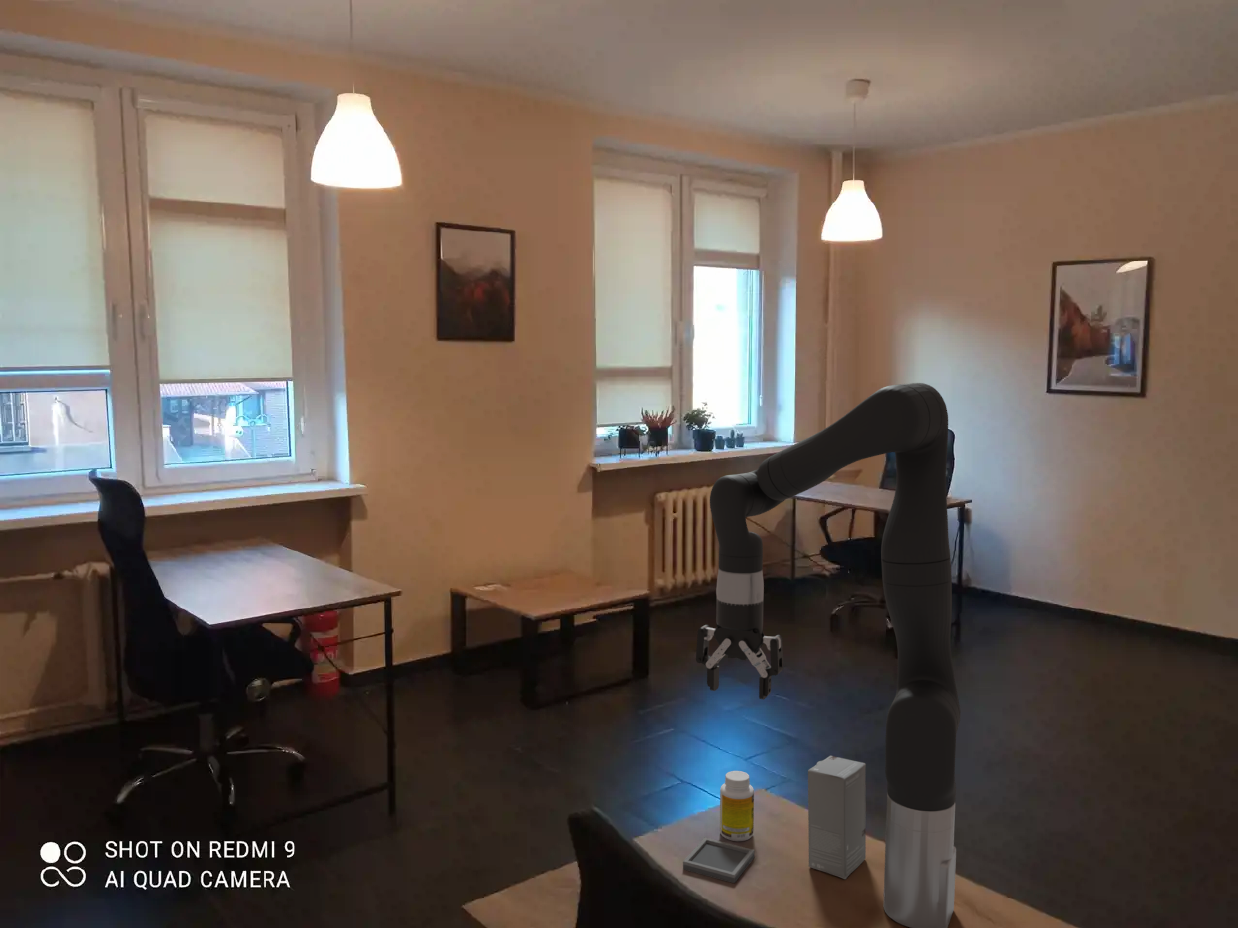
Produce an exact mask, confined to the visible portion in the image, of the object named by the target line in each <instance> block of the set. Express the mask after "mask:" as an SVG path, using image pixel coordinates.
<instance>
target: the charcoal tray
mask: <svg viewBox="0 0 1238 928" xmlns="http://www.w3.org/2000/svg"><path fill="white" fill-rule="evenodd" d="M754 859H755V849H751V848H747V847H744V846H741V845H736V844H733V843H729V842H724V841H720V840H716V839H713V838H709V837H704V838H703V839H702V840H701V841H700V842H699V843H698V844H697V845H696V847H695V848H694V849H693V850H692V851H691V852H690V853H689V854H688V855H687V856H686V857H685V858H684V859H683V861H682V870H683V871H689V872H692V873H695V874H699V875H703V876H706V877H709V878H714V879H717V880H720V881H721V880H722V881H724V882H728V883H732V884H735V883H737V881H738V879H739V878H740V877H741V875H742V874H743V873H744V872H745V870H746V869H747V868H748V867H749V865H750V864H751V863H752V861H754Z"/></svg>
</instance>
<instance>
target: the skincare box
mask: <svg viewBox="0 0 1238 928" xmlns="http://www.w3.org/2000/svg"><path fill="white" fill-rule="evenodd" d="M866 766H867V764H866V763H865V762H862V761H856V760H851V759H848V758H843V757H839V756H838V757H837V756H834V755H829V756H828V757H826V758H825V759H823V760H819V761H817V762H816V764H815V765H814V766H812V767H811V768H809V769H808V770H807V804H808V805H807V807H808V808H807V810H808V811H807V814H808V815H807V817H808V818H807V819H808V821H807V822H808V825H807V826H808V827H807V828H808V833H807V834H808V867H809V868H811V869H814V870H817V871H820V872H824V873H826V874H830V875H833V876H836V877H838V878H841V879H843V880H847V878H848V877H849V876H851V873H853V872H854V871H855V870H857V868H858V867H859V866H860V865H861V864H862V863H864V861H865V860H866V856H867V855H866V849H867V847H866V844H867V842H866V841H867V839H866V838H867V837H866V830H867V829H866V818H867V817H866V813H867V811H866Z"/></svg>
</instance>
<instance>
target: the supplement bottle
mask: <svg viewBox="0 0 1238 928" xmlns="http://www.w3.org/2000/svg"><path fill="white" fill-rule="evenodd" d="M724 779H725V780H724V783H723V784H722V785H721V786H720V791H719V832H720V834H721V836H722V837H723V838H725V839H726V840H728V841H733V842H744V841H748V840H749V839H751V838H752V837H753V835H754V824H755V823H754V817H755V789H754V787H753V786H752V785H751V781H750V775H749V774H748V773H747V772H746V771H745V772H744V771H741V770H732V771H728V772H727V773H725V778H724Z"/></svg>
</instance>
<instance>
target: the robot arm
mask: <svg viewBox="0 0 1238 928" xmlns="http://www.w3.org/2000/svg"><path fill="white" fill-rule="evenodd" d="M948 440H949V413H948V409H947V404H946V402H945V400H944V398H943V396H942V395H941V393H940V392H939V390H937V389H936V388H935V387H933V386H931V385H930V384H927V383H924V382H911V383H910V382H909V383H902V384H893V385H892V384H891V385H887V386H884V387H881V388H879V389H878V390H876V391H875V392H874V393H872V394H870V395H869V396H867V398H865V399H864V400H863V401H861V402H860V403H858V404H857V405H856V406H855V407H854V408H852V409H851V410H849V412H847V413H846V414H845V415H843V416H842V417H840V418H839V419H838V420H836V421H835V422H833V423H832V424H830V425H828V426H827V427H825V428H824V429H822V430H820V431H819V432H817V433H815V434H812V435H810V436H809V437H806V438H804V439H803V440H801V441H798V442H797V443H794V444H792V445H790V446H789V447H786V448H784V449H782V450H781V451H778V452H776V453H775V454H772V455H771V456H769V457H767V458H766V459H764V460H763V461H762V462H761V463H760V465H759V466H758V469H755V470H752V471H750V472H745V473H744V472H743V473H737V474H728V475H724V476H721V477H719V478H718V479H717V480H716V481H715V482H714V483H713V485H712V487H711V490H710V495H709V508H710V513H711V518H712V521H713V525H714V530H715V533H716V534H715V535H716V537H717V541H718V571H717V572H718V573H717V578H716V579H717V580H716V590H715V594H716V610H715V611H716V612H715V613H716V615H715V616H716V618H715V620H716V622H715V623H716V627H715V628H713V627H710V625H709V624H705V625H703V626H701V627H700V628H698V629H697V635H696V636H697V637H696V649H695V650H696V652H695V653H696V654H695V662H696V663H697V664H702V665H704V666H705V668H706V684H707V687H709V690H710V691H712V692H715V691H717V690H718V689H719V685H720V665H718V664H719V662H720V661H721V660H722V659H723V658H724V657H725V656H726V657H727V658H729V659H739V660H741V661H747V660H749V662H750V663H751V665H752V666H753V667H755V670H757V672H758V673H759V675H760V676H759V678H758V679H759V681H758V682H759V685H758V687H759V689H758V698H759V700H765V699H766V698H768V696H769V695H770V694H771V692H772V676H777V675H779V674H780V673H781V672H783V670H784V653H783V652H784V650H783V649H784V648H783V646H784V645H783V637H782V635H780V634H777V635H775V636H767V635H765V633H764V631H763V628H764V597H765V596H764V594H765V593H764V592H765V589H764V587H765V585H764V584H765V583H764V582H765V581H764V574H763V572H764V571H763V568H764V567H763V563H764V562H763V558H764V554H763V553H764V551H763V547H764V545H763V538H762V537H761V535H759V533H756V532H753V531H749V529H748V528H749V527H748V525H747V524H748V523H747V518H749V517H756V516H759V515H762V514H765V513H767V512H770V511H772V510H773V509H774V508H776V507H777V506H779V505H781V504H782V503H784V501H786V500H787V499H790V498H793V497H795V496H797V495H799V494H802V493H803V492H806V491H808V490H810V489H812V488H814V487H816V486H818V485H820V484H821V483H823V482H825V481H827V480H828V479H829V478H830V477H832V476H833V475H834V474H836V473H837V472H838V471H839V470H842V469H843V468H845V467H847V466H849V465H852V464H853V463H856V462H859V461H861V460H865V459H868V458H873V457H876V456H880V455H886V454H890V453H895V454H894V455H895V468H896V469H895V470H896V485H895V490H894V496H893V499H892V504H891V507H890V510H889V512H888V517H887V519H886V523H885V526H884V530H883V535H882V539H881V548H880V554H881V555H880V556H881V560H880V561H881V575H882V578H881V579H882V586H883V587H882V588H883V595H884V599H885V604H886V608H887V611H888V614H889V615H888V616H889V617H890V622H891V625H892V628H893V632H894V634H895V639H896V646H897V680H896V681H897V682H896V693H895V696H894V699H893V701H892V703H891V705H890V706H889V709H888V712H887V715H886V723H885V744H884V745H885V746H884V747H885V751H884V752H885V753H884V754H885V755H884V756H885V757H884V758H885V760H884V762H885V763H884V765H885V767H884V771H885V779H886V784H887V785H886V817H885V820H886V821H885V844H884V845H885V848H884V849H885V850H884V872H883V873H884V875H883V876H884V877H883V878H884V880H883V881H884V882H883V911H884V912H885V913H886V915H887V916H888V917H889V919H892V920H893V921H894V922H896V923H898V924H899V925H902V926H905V927H909V928H949V925H950V922H951V918H952V916H953V913H954V910H955V893H956V892H955V891H956V889H955V886H956V869H957V868H956V867H957V866H956V863H957V862H956V860H957V848H956V846H955V844H954V843H955V817H956V799H957V798H956V795H957V784H956V780H955V779H956V777H955V776H956V775H955V774H956V772H955V771H956V770H955V769H956V748H957V746H956V744H957V733H958V730H959V726H960V722H961V706H960V701H959V699H960V698H959V695H958V689H957V683H956V678H955V671H954V665H953V659H952V651H951V647H952V646H951V634H952V633H951V631H952V630H951V629H952V617H953V615H952V614H953V612H952V611H953V594H952V591H953V590H952V589H953V585H952V584H953V583H952V581H953V579H952V578H953V576H952V564H951V563H952V562H951V561H952V560H951V549H950V540H949V539H950V538H949V521H948V520H949V517H948V516H949V515H948V514H949V513H948V500H947V499H948V497H947V461H948V460H947V459H948ZM713 638H714V639H715V640H716V642H717V644H718V647H717V649H716V650H715V651H714V652H713V653H712V655H709V652H710V651H709V649H710V641H711V640H712V639H713ZM764 644H765V645H766V648H767V650H768V651H770V653H769V654H770V663H769V661H768V660H767V656H766V654H765V653H764V651H763V650H762V647H763V646H764Z"/></svg>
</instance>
